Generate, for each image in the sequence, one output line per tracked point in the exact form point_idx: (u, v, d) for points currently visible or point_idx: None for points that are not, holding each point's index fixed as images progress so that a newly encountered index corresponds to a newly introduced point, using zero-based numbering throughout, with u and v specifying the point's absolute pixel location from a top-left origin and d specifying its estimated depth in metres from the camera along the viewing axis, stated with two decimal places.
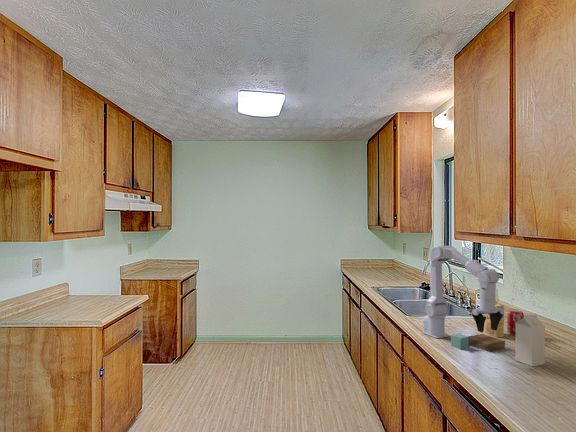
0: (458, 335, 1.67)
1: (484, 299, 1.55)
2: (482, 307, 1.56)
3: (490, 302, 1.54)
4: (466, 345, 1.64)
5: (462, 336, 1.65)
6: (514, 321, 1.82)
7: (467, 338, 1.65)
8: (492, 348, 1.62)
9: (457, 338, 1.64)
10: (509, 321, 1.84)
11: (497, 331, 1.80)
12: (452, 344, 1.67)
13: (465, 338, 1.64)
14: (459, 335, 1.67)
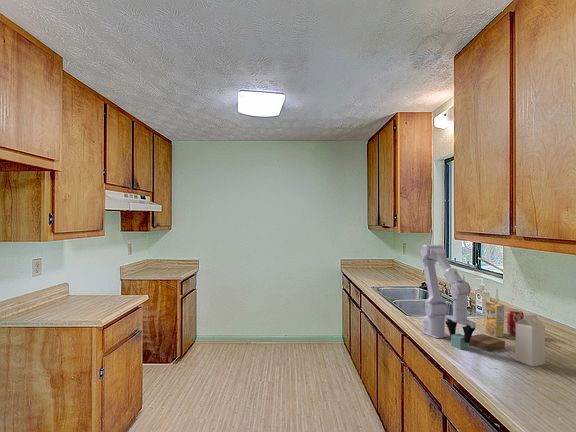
0: (458, 335, 1.67)
1: None
2: None
3: (453, 311, 1.66)
4: (466, 345, 1.64)
5: (462, 336, 1.65)
6: (514, 321, 1.82)
7: None
8: (492, 348, 1.62)
9: (457, 338, 1.64)
10: (509, 321, 1.84)
11: (497, 331, 1.80)
12: (452, 344, 1.67)
13: None
14: (459, 335, 1.67)
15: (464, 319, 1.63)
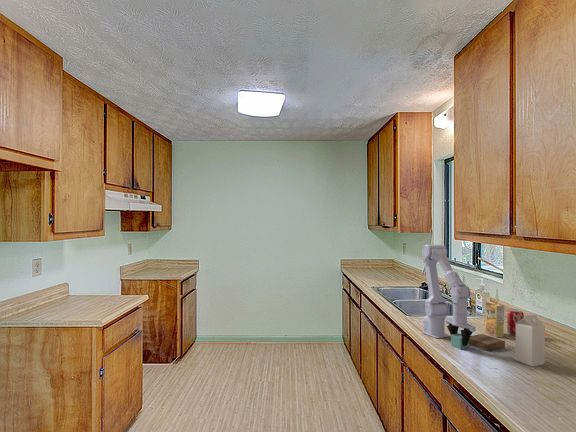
0: (458, 335, 1.67)
1: None
2: None
3: (453, 315, 1.66)
4: None
5: None
6: (514, 321, 1.82)
7: None
8: (492, 348, 1.62)
9: (457, 338, 1.64)
10: (509, 321, 1.84)
11: (497, 331, 1.80)
12: (452, 344, 1.67)
13: None
14: (459, 335, 1.67)
15: (464, 323, 1.63)
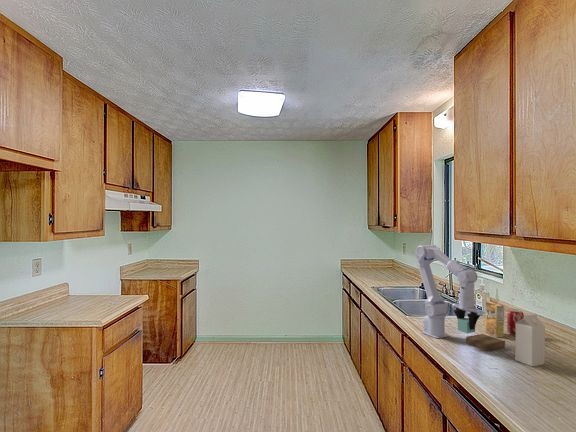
0: (465, 319, 1.67)
1: None
2: None
3: (460, 299, 1.67)
4: (473, 329, 1.65)
5: None
6: (514, 321, 1.82)
7: None
8: (492, 348, 1.62)
9: (464, 322, 1.65)
10: (509, 321, 1.84)
11: (497, 331, 1.80)
12: (459, 328, 1.67)
13: None
14: (465, 319, 1.67)
15: (471, 307, 1.64)
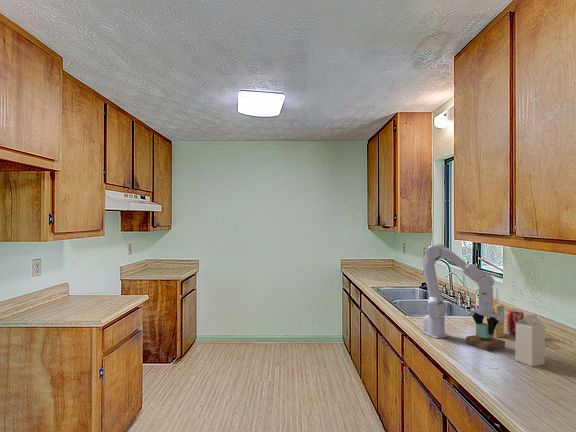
0: (483, 324, 1.68)
1: None
2: None
3: (479, 304, 1.68)
4: None
5: (487, 325, 1.67)
6: (514, 321, 1.82)
7: None
8: (492, 348, 1.62)
9: (483, 327, 1.66)
10: (509, 321, 1.84)
11: (497, 331, 1.80)
12: (477, 333, 1.68)
13: None
14: (484, 324, 1.68)
15: (490, 312, 1.65)
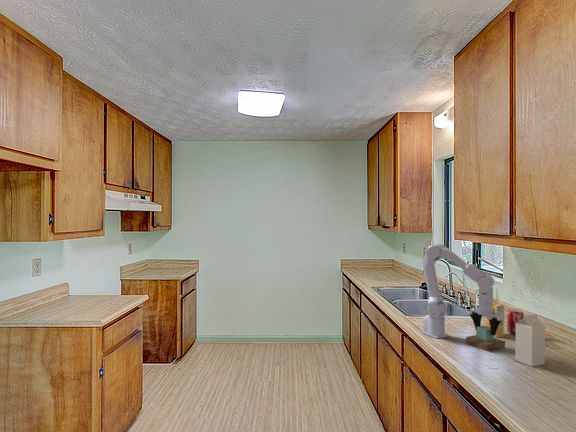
0: (483, 327, 1.68)
1: None
2: None
3: (479, 304, 1.68)
4: (492, 337, 1.66)
5: (488, 328, 1.67)
6: (514, 321, 1.82)
7: None
8: (492, 348, 1.62)
9: (483, 330, 1.66)
10: (509, 321, 1.84)
11: (497, 331, 1.80)
12: (477, 336, 1.69)
13: None
14: (484, 327, 1.69)
15: (490, 312, 1.65)
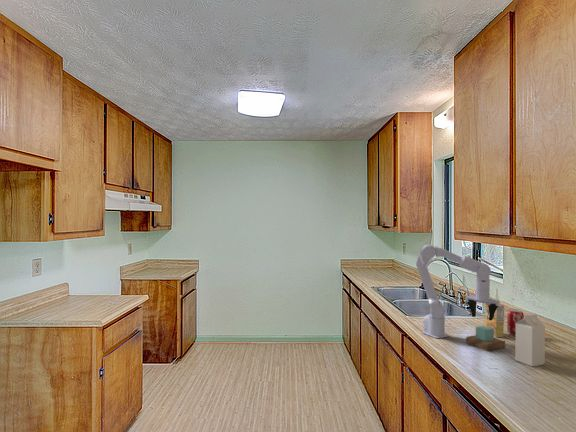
0: (483, 327, 1.69)
1: None
2: None
3: (477, 291, 1.75)
4: (491, 337, 1.66)
5: (487, 328, 1.67)
6: (514, 321, 1.82)
7: (493, 330, 1.67)
8: (492, 348, 1.62)
9: (482, 330, 1.67)
10: (509, 321, 1.84)
11: (497, 331, 1.80)
12: (477, 336, 1.69)
13: (490, 330, 1.66)
14: (484, 327, 1.69)
15: (488, 298, 1.73)
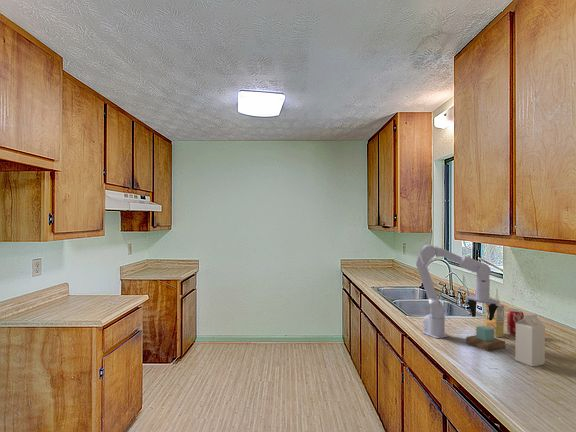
0: (483, 327, 1.69)
1: None
2: None
3: (477, 291, 1.75)
4: (491, 337, 1.66)
5: (487, 328, 1.67)
6: (514, 321, 1.82)
7: (493, 330, 1.66)
8: (492, 348, 1.62)
9: (482, 330, 1.66)
10: (509, 321, 1.84)
11: (497, 331, 1.80)
12: (477, 336, 1.69)
13: (490, 330, 1.66)
14: (484, 327, 1.69)
15: (488, 298, 1.73)
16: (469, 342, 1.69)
